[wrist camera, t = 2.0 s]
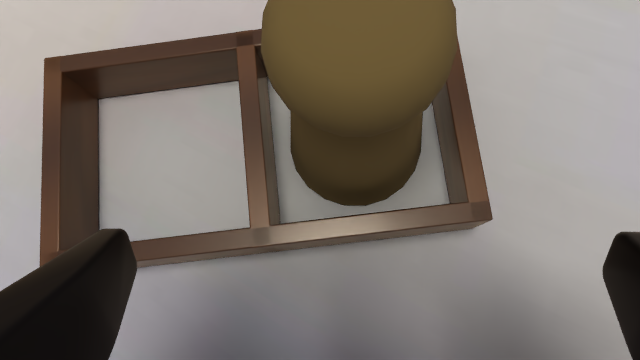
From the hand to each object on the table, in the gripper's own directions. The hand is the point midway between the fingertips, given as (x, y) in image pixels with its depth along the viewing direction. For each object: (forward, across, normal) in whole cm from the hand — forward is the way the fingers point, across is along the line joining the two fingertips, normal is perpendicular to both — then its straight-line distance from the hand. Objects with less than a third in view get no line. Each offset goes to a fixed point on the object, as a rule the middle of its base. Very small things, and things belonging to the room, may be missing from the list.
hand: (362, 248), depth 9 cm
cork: (+13, 0, +5) cm, 13 cm away
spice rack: (+12, +4, +5) cm, 14 cm away
